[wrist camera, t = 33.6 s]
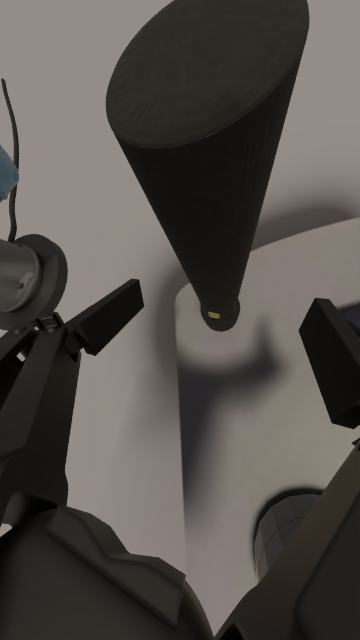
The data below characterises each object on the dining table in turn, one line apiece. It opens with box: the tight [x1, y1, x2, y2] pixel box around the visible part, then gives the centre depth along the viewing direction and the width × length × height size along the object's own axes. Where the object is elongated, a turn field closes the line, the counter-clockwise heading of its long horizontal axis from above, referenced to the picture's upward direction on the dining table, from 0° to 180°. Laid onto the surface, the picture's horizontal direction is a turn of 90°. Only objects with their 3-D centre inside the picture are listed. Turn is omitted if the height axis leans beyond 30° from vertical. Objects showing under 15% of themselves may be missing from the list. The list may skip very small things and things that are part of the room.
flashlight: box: [106, 0, 309, 332], centre depth 14 cm, size 5×24×5 cm
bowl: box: [254, 494, 320, 583], centre depth 15 cm, size 15×15×6 cm
